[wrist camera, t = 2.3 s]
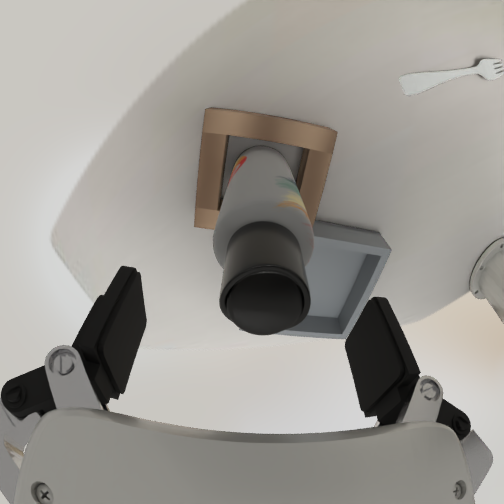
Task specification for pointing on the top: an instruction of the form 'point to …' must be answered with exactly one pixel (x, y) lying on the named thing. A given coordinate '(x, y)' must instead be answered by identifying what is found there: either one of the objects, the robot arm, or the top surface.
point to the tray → (340, 278)
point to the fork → (447, 76)
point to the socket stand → (269, 129)
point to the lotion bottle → (263, 245)
